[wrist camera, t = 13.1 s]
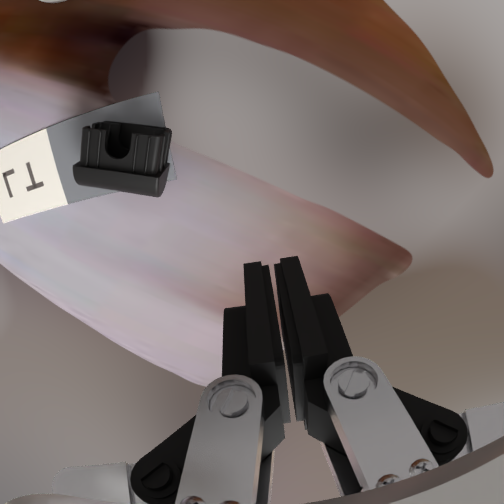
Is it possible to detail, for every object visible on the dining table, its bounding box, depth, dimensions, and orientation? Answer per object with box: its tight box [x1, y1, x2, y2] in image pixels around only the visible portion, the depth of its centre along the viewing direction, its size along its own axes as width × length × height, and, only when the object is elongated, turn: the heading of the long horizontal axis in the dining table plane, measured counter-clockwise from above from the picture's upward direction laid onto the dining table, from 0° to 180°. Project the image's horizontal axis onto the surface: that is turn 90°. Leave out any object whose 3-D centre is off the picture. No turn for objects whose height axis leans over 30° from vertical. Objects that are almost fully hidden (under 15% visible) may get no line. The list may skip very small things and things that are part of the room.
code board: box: [0, 129, 68, 223], centre depth 35 cm, size 11×14×1 cm
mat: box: [46, 92, 177, 204], centre depth 35 cm, size 11×16×1 cm
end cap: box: [73, 121, 172, 197], centre depth 32 cm, size 10×7×7 cm
